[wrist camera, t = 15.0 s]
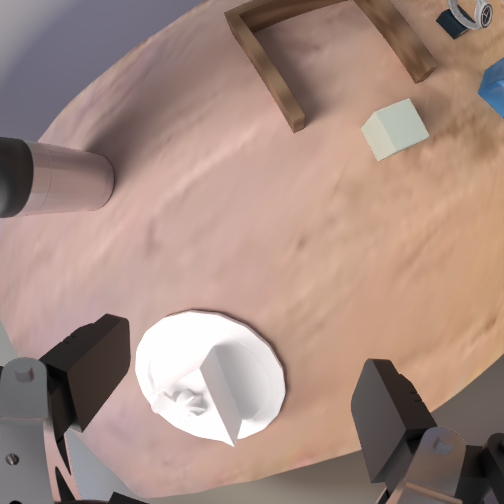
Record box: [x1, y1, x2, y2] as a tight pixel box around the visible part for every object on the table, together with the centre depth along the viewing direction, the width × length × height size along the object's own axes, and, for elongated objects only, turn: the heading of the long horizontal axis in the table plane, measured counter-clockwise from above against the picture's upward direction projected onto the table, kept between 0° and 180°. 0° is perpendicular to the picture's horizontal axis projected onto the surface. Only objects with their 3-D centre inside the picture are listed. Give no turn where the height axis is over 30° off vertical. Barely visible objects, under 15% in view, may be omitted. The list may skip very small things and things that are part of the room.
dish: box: [136, 310, 286, 447], centre depth 40 cm, size 25×25×11 cm
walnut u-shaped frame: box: [224, 0, 438, 133], centre depth 32 cm, size 19×22×6 cm
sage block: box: [361, 98, 430, 161], centre depth 32 cm, size 5×5×8 cm
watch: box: [436, 0, 492, 39], centre depth 25 cm, size 6×8×11 cm
